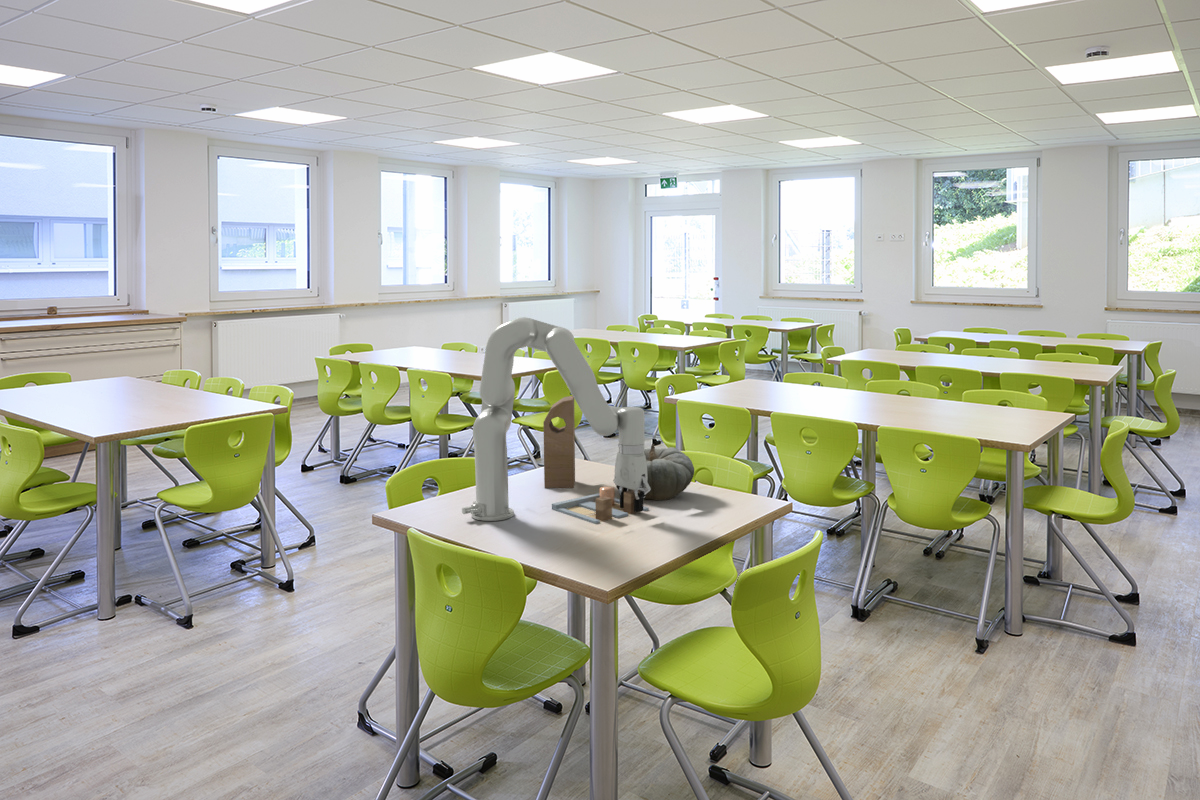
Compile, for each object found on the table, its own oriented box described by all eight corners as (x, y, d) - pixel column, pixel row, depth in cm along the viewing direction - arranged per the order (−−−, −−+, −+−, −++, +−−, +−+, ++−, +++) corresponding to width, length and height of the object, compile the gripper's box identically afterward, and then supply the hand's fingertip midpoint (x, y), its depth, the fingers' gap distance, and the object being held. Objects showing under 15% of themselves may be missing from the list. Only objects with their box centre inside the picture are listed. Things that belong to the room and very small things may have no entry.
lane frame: (595, 528, 240) (594, 518, 239) (551, 513, 255) (551, 503, 254) (648, 514, 253) (648, 504, 253) (604, 501, 268) (604, 491, 268)
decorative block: (573, 488, 284) (572, 399, 280) (544, 488, 285) (542, 399, 280) (575, 481, 294) (574, 395, 290) (546, 481, 294) (545, 395, 290)
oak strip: (628, 518, 249) (628, 494, 248) (590, 506, 261) (590, 483, 260) (641, 514, 252) (641, 491, 251) (604, 503, 265) (604, 481, 264)
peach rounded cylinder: (606, 507, 256) (606, 491, 256) (596, 504, 260) (596, 488, 259) (617, 504, 259) (617, 488, 259) (607, 501, 263) (607, 485, 262)
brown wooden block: (600, 525, 242) (600, 501, 241) (584, 520, 247) (584, 496, 246) (614, 522, 245) (614, 497, 244) (598, 516, 250) (598, 493, 249)
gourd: (696, 479, 285) (691, 431, 279) (697, 511, 261) (691, 459, 256) (622, 485, 288) (616, 437, 283) (616, 517, 264) (610, 466, 259)
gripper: (602, 446, 252) (603, 505, 255) (642, 455, 240) (642, 517, 242) (621, 443, 257) (621, 501, 260) (661, 452, 244) (661, 513, 247)
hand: (631, 508), depth 251 cm, fingers open, 5 cm apart
